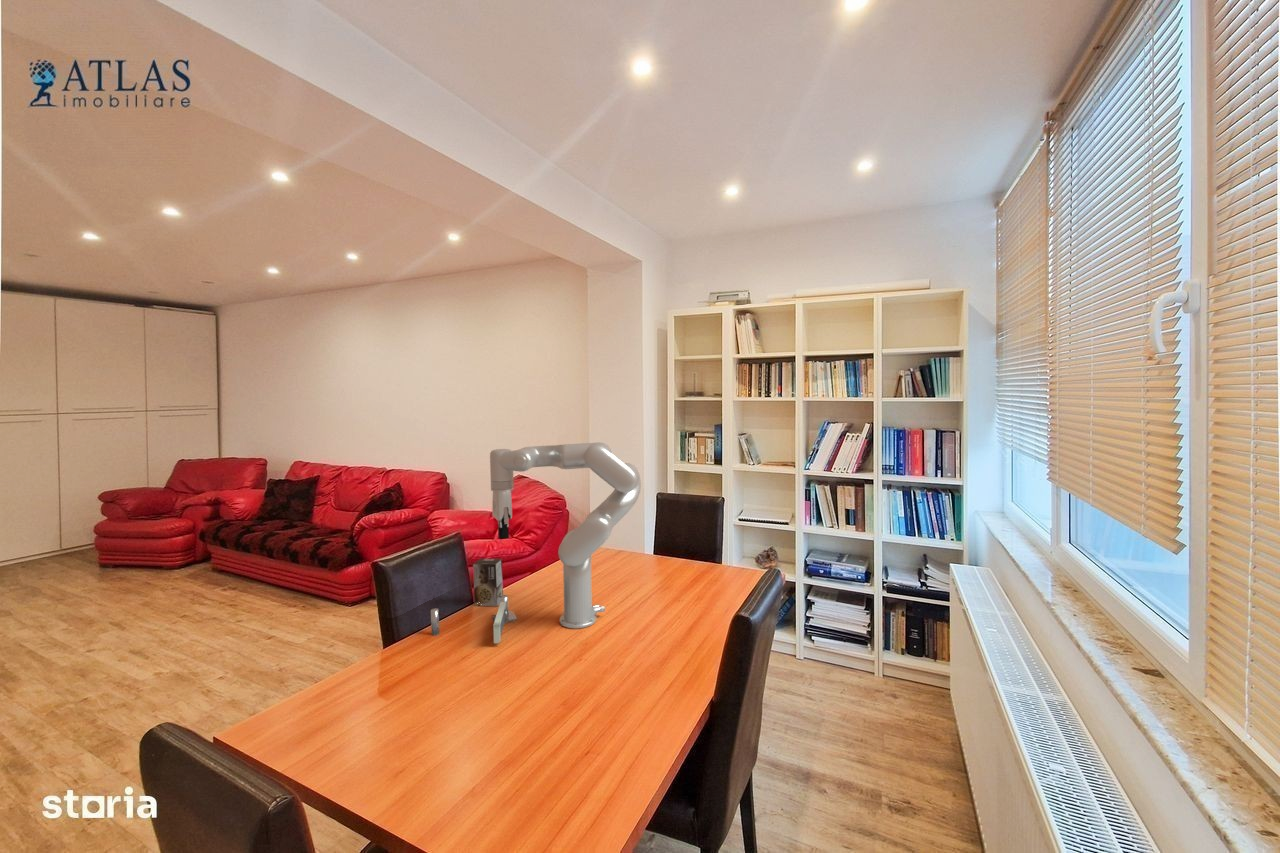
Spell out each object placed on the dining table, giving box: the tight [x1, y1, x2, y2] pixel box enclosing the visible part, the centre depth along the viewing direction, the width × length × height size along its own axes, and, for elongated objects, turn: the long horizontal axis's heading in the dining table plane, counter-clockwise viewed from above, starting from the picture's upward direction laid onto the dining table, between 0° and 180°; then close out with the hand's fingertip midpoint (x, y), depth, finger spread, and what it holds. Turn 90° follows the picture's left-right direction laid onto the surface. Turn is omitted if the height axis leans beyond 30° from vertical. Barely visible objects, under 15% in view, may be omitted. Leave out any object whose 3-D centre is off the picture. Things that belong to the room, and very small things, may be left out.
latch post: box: [430, 607, 440, 636], centre depth 164 cm, size 2×2×8 cm
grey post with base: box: [491, 594, 518, 624], centre depth 174 cm, size 7×7×8 cm
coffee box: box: [472, 558, 504, 607], centre depth 188 cm, size 9×6×16 cm
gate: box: [492, 602, 506, 644], centre depth 163 cm, size 18×2×6 cm, turn 9°
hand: (503, 538), depth 171 cm, fingers closed
